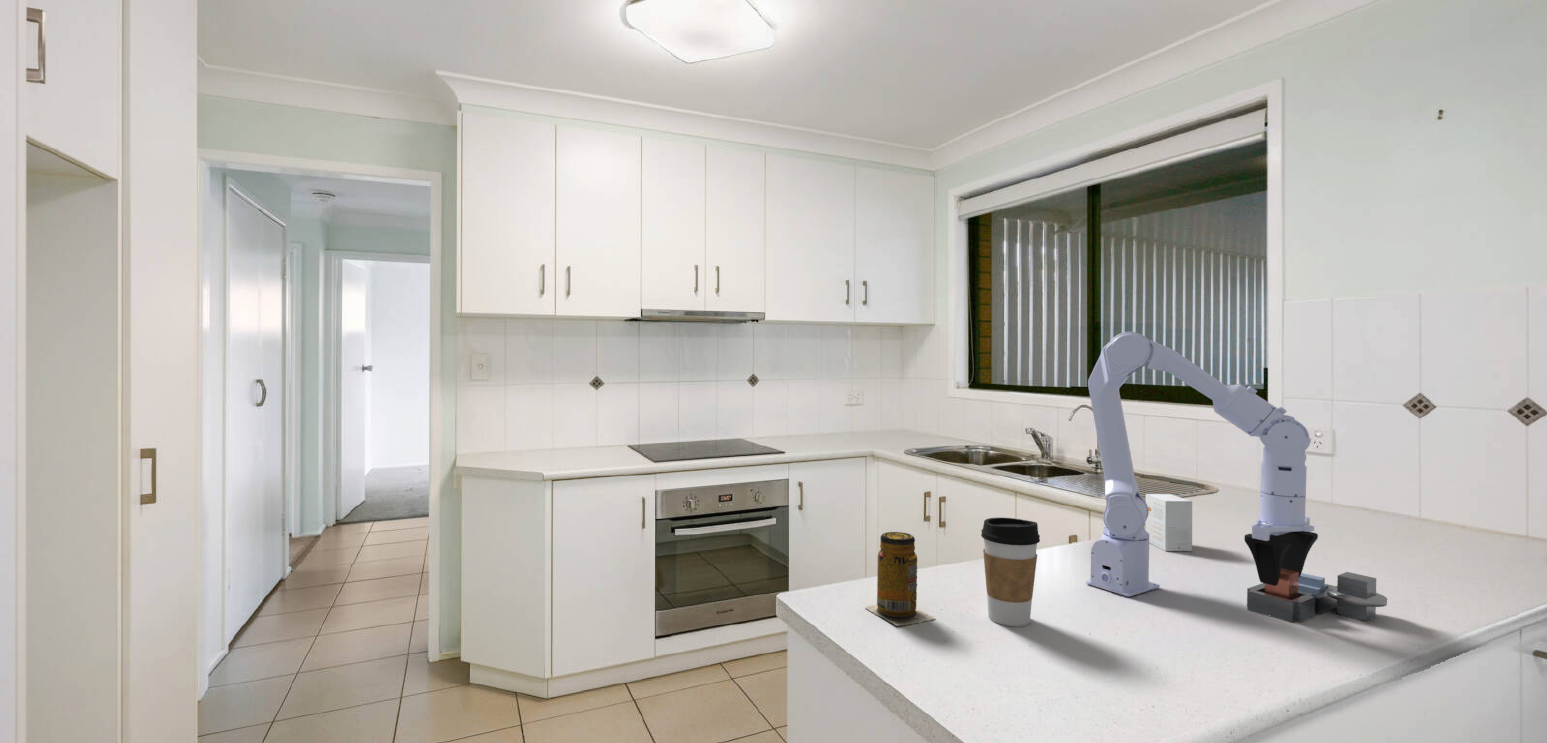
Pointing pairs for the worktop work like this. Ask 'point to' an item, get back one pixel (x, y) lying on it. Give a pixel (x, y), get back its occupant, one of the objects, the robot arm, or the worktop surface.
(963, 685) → the worktop surface
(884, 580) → the condiment
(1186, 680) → the worktop surface
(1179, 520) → the small box
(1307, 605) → the grey socket with disc
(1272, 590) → the reddish brown rectangular block
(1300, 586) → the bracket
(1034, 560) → the coffee cup
